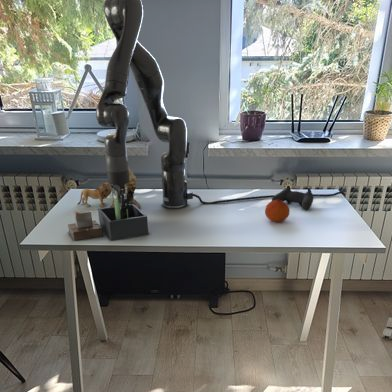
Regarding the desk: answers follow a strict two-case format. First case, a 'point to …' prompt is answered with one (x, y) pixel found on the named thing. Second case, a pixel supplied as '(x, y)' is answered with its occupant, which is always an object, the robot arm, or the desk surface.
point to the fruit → (277, 211)
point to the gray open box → (123, 223)
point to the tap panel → (85, 231)
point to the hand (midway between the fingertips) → (122, 217)
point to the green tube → (118, 208)
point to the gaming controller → (295, 197)
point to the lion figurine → (96, 194)
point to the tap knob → (83, 218)
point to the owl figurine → (130, 189)
